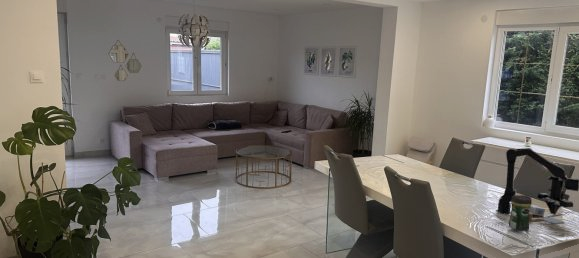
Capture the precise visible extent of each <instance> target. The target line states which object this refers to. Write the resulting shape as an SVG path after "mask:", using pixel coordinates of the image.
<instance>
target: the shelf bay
mask: <svg viewBox="0 0 579 258" xmlns="http://www.w3.org/2000/svg"><path fill="white" fill-rule="evenodd" d="M533 216H534V215H533V214H532V213H529V223H530V222H539V221H541V222H542V221H543V218H544V217H534V218H533ZM543 222H544V221H543Z"/></svg>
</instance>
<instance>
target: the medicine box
mask: <svg viewBox="0 0 579 258" xmlns="http://www.w3.org/2000/svg"><path fill="white" fill-rule="evenodd" d="M545 211H546V209H545V208H543V207H540V206H538V205H534V204H531V207H530V212H529V213H532V214H533V216H540V217H544V215H545Z"/></svg>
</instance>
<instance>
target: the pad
mask: <svg viewBox="0 0 579 258" xmlns="http://www.w3.org/2000/svg"><path fill="white" fill-rule="evenodd" d="M542 218H543V222H547V223H549V224H551V225H555V224H557V225H558V224H565V221H562V220H559V219H557V218H555V217H542Z"/></svg>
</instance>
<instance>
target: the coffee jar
mask: <svg viewBox="0 0 579 258" xmlns="http://www.w3.org/2000/svg"><path fill="white" fill-rule="evenodd" d="M532 202H533V201H532V197H531V196H529V195H526V194H525V195H524V194H523V195H522V194H520V195H517V194H516V196H515V195H513V196H512V199H511V202H510V203H511V208H510V212H511V214H510V215H509V221H508V227H509V228H510V229H511V230H515V231H518V232H519V231H520V232H521V231H529V229H530V221H529V212H530V207H531V205H533V203H532Z"/></svg>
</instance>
